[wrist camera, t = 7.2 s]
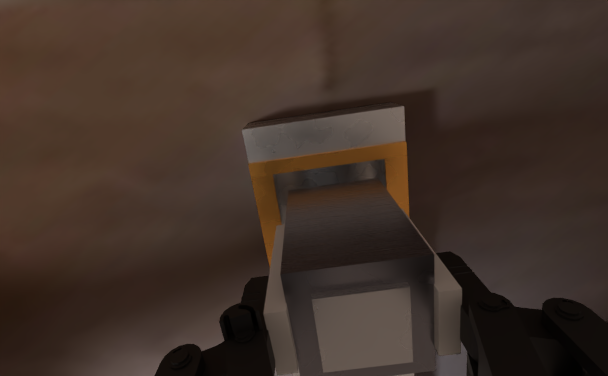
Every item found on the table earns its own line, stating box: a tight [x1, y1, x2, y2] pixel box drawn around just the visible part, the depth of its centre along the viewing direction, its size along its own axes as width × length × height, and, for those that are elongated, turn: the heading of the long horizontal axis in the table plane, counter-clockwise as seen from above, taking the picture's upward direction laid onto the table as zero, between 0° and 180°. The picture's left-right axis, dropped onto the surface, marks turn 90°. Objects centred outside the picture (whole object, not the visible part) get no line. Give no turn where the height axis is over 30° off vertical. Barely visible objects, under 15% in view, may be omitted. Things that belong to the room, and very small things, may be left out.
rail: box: [242, 102, 414, 376], centre depth 24 cm, size 9×28×3 cm, turn 8°
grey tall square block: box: [280, 178, 435, 376], centre depth 15 cm, size 5×5×8 cm
